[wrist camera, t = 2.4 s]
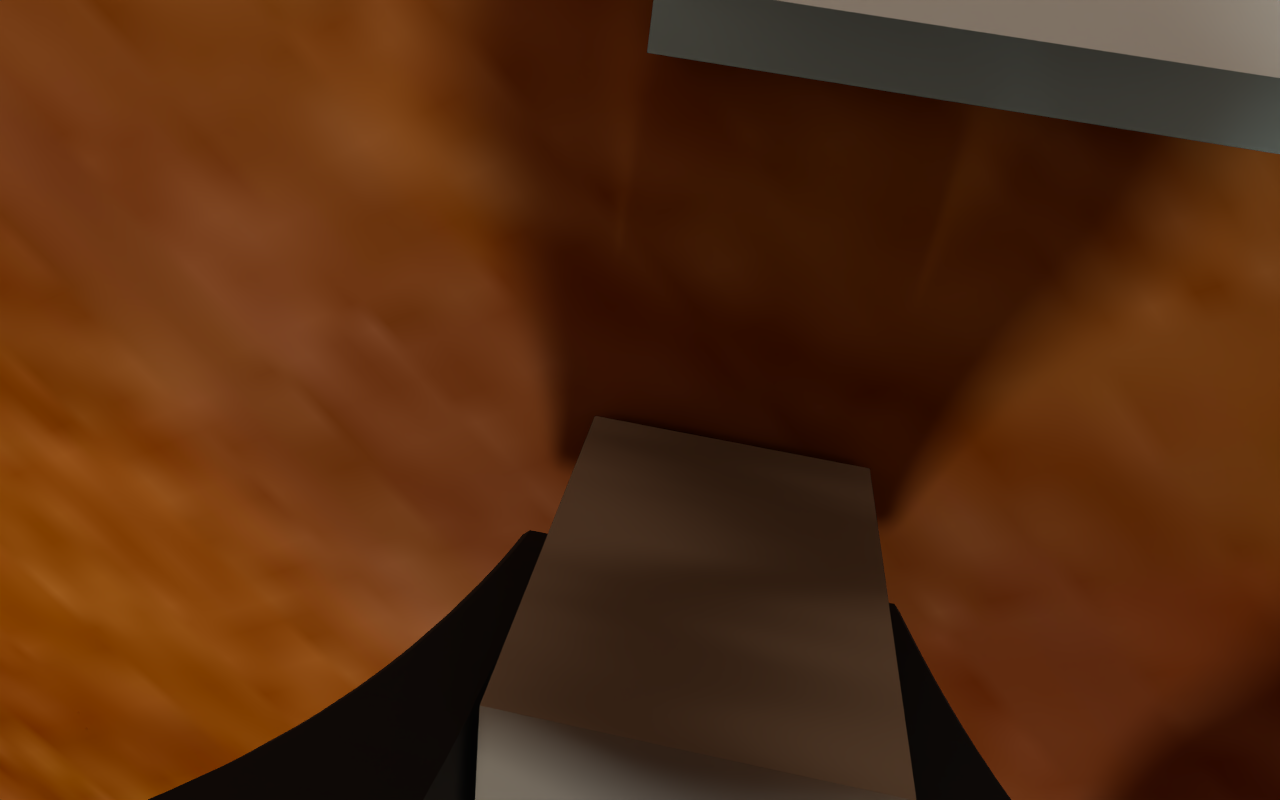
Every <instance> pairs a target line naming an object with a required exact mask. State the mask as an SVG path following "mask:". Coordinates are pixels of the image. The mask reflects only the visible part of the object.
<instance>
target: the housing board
mask: <svg viewBox="0 0 1280 800" xmlns="http://www.w3.org/2000/svg"><path fill="white" fill-rule="evenodd" d="M647 53H652V54H659V55H665V56H671V57H677V58H684V59H690V60H696V61H702V62H709V63H715V64H721V65H727V66H733V67H740V68H746V69H752V70H758V71H765V72H771V73H777V74H783V75H790V76H796V77H802V78H808V79H815V80H821V81H827V82H833V83H839V84H846V85H852V86H858V87H864V88H871V89H877V90H883V91H889V92H896V93H902V94H908V95H914V96H921V97H927V98H933V99H939V100H945V101H952V102H958V103H964V104H970V105H977V106H983V107H989V108H995V109H1002V110H1008V111H1014V112H1020V113H1027V114H1033V115H1039V116H1045V117H1051V118H1058V119H1064V120H1070V121H1076V122H1083V123H1089V124H1095V125H1101V126H1108V127H1114V128H1120V129H1126V130H1133V131H1139V132H1145V133H1151V134H1157V135H1164V136H1170V137H1176V138H1182V139H1189V140H1195V141H1201V142H1207V143H1214V144H1220V145H1226V146H1232V147H1239V148H1245V149H1251V150H1257V151H1263V152H1270V153H1276V154H1280V78H1275V77H1269V76H1263V75H1256V74H1250V73H1243V72H1237V71H1230V70H1224V69H1217V68H1211V67H1204V66H1198V65H1191V64H1185V63H1178V62H1172V61H1165V60H1159V59H1152V58H1146V57H1140V56H1133V55H1127V54H1120V53H1114V52H1107V51H1101V50H1094V49H1088V48H1081V47H1075V46H1068V45H1062V44H1055V43H1049V42H1042V41H1036V40H1030V39H1023V38H1017V37H1010V36H1004V35H997V34H991V33H984V32H978V31H971V30H965V29H958V28H952V27H945V26H939V25H932V24H926V23H919V22H913V21H907V20H900V19H894V18H887V17H881V16H874V15H868V14H861V13H855V12H848V11H842V10H835V9H829V8H822V7H816V6H809V5H803V4H797V3H790V2H784V1H777V0H654V1H653V9H652V17H651V25H650V33H649V41H648V49H647Z"/></svg>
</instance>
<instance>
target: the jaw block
mask: <svg viewBox="0 0 1280 800" xmlns="http://www.w3.org/2000/svg"><path fill="white" fill-rule="evenodd" d="M475 800H916V793H915V786H914V779H913V772H912V765H911V758H910V751H909V744H908V737H907V729H906V722H905V715H904V708H903V701H902V694H901V687H900V680H899V673H898V666H897V659H896V651H895V644H894V637H893V630H892V623H891V616H890V609H889V602H888V595H887V588H886V581H885V573H884V566H883V559H882V552H881V545H880V538H879V531H878V524H877V517H876V510H875V503H874V495H873V488H872V481H871V474H870V468H865V467H859V466H854V465H849V464H844V463H839V462H833V461H828V460H823V459H818V458H813V457H807V456H802V455H797V454H792V453H786V452H781V451H776V450H771V449H766V448H760V447H755V446H750V445H745V444H740V443H734V442H729V441H724V440H719V439H714V438H708V437H703V436H698V435H693V434H687V433H682V432H677V431H672V430H667V429H661V428H656V427H651V426H646V425H641V424H635V423H630V422H625V421H620V420H614V419H609V418H604V417H599V416H595V417H594V419H593V422H592V425H591V427H590V430H589V432H588V435H587V437H586V440H585V442H584V445H583V447H582V450H581V452H580V455H579V457H578V460H577V462H576V465H575V467H574V470H573V472H572V475H571V477H570V480H569V482H568V485H567V487H566V490H565V492H564V495H563V497H562V500H561V502H560V505H559V507H558V510H557V512H556V515H555V517H554V520H553V522H552V525H551V528H550V530H549V533H548V535H547V538H546V540H545V543H544V545H543V548H542V550H541V553H540V555H539V558H538V560H537V563H536V565H535V568H534V570H533V573H532V575H531V578H530V580H529V583H528V585H527V588H526V590H525V593H524V595H523V598H522V600H521V603H520V605H519V608H518V610H517V613H516V615H515V618H514V620H513V623H512V625H511V628H510V631H509V633H508V636H507V638H506V641H505V643H504V646H503V648H502V651H501V653H500V656H499V658H498V661H497V663H496V666H495V668H494V671H493V673H492V676H491V678H490V681H489V683H488V686H487V688H486V691H485V693H484V696H483V698H482V701H481V703H480V709H479V729H478V750H477V771H476V791H475Z"/></svg>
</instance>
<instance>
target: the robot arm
mask: <svg viewBox="0 0 1280 800" xmlns="http://www.w3.org/2000/svg"><path fill="white" fill-rule="evenodd" d="M547 535H548V534H546V533H541V532H536V531H531V530H530V531H528V532H526V533H525V534H523V535H522V536H521V538H520V539H519V540H518V541H517V543H516V544H515V545H514V546H513V547H512V549H511V550H510V551H509V552H508V553H507V554H506V555H505V557H504V558H503V559H502V560H501V561H500V562H499V563H498V564H497V566H496V567H495V568H494V569H493V570H492V571H491V572H490V573H489V574H488V575H487V576H486V577H485V578H484V579H483V580H482V581H481V583H480V584H479V585H478V586H476V587H475V588H474V589H473V590H472V591H471V592H470V593H469V594H468V595H467V596H466V597H465V598H464V599H463V600H462V601H461V602H460V603H459V604H458V605H457V606H456V607H455V608H454V609H453V610H452V611H451V612H450V613H449V614H448V615H447V616H446V617H444V618H443V619H442V620H441V621H440V622H439V623H438V624H436V625H435V626H434V627H433V628H432V629H431V630H430V631H428V632H427V633H426V634H425V635H424V636H423V637H421V638H420V639H419V640H418V641H417V642H416V643H415V644H413V645H412V646H411V647H410V648H409V649H407V650H406V651H405V652H404V653H402V654H401V655H400V656H399V657H397V658H396V659H395V660H394V661H392V662H391V663H390V664H388V665H387V666H386V667H385V668H383V669H382V670H381V671H379V672H378V673H376V674H375V675H374V676H372V677H371V678H370V679H368V680H367V681H365V682H364V683H363V684H361V685H360V686H358V687H357V688H356V689H354V690H353V691H351V692H350V693H348V694H347V695H345V696H344V697H342V698H341V699H339V700H337V701H336V702H334V703H333V704H331V705H330V706H328V707H327V708H325V709H324V710H322V711H321V712H319V713H318V714H316V715H314V716H313V717H311V718H310V719H308V720H306V721H305V722H303V723H301V724H300V725H298V726H296V727H294V728H293V729H291V730H289V731H287V732H285V733H284V734H282V735H280V736H278V737H276V738H274V739H273V740H271V741H269V742H267V743H265V744H264V745H262V746H260V747H258V748H256V749H254V750H253V751H251V752H249V753H247V754H245V755H244V756H242V757H240V758H238V759H236V760H234V761H232V762H230V763H228V764H226V765H224V766H222V767H220V768H217V769H215V770H213V771H211V772H209V773H207V774H204V775H202V776H200V777H198V778H196V779H193V780H191V781H189V782H187V783H185V784H182V785H180V786H178V787H176V788H174V789H172V790H169V791H167V792H165V793H162V794H160V795H158V796H155V797H153V798H150V799H148V800H475V791H476V771H477V750H478V729H479V709H480V703H481V701H482V698H483V696H484V693H485V691H486V688H487V686H488V683H489V681H490V678H491V676H492V673H493V671H494V668H495V666H496V663H497V661H498V658H499V656H500V653H501V651H502V648H503V646H504V643H505V641H506V638H507V636H508V633H509V631H510V628H511V625H512V623H513V620H514V618H515V615H516V613H517V610H518V608H519V605H520V603H521V600H522V598H523V595H524V593H525V590H526V588H527V585H528V583H529V580H530V578H531V575H532V573H533V570H534V568H535V565H536V563H537V560H538V558H539V555H540V553H541V550H542V548H543V545H544V543H545V540H546V538H547ZM889 609H890V616H891V623H892V630H893V637H894V644H895V651H896V659H897V666H898V673H899V680H900V687H901V694H902V701H903V708H904V715H905V722H906V729H907V737H908V744H909V751H910V758H911V765H912V772H913V779H914V786H915V793H916V800H1011V799H1010V797H1009V796H1008V795H1007V793H1006V792H1005V790H1004V789H1003V788H1002V786H1001V785H1000V783H999V782H998V780H997V779H996V778H995V776H994V775H993V773H992V772H991V770H990V769H989V767H988V766H987V764H986V763H985V761H984V760H983V758H982V757H981V755H980V754H979V752H978V751H977V749H976V748H975V746H974V744H973V743H972V741H971V740H970V738H969V736H968V735H967V733H966V732H965V730H964V728H963V727H962V725H961V723H960V722H959V720H958V718H957V717H956V715H955V713H954V712H953V710H952V708H951V707H950V705H949V703H948V702H947V700H946V698H945V696H944V695H943V693H942V691H941V690H940V688H939V686H938V684H937V682H936V681H935V679H934V677H933V675H932V673H931V672H930V670H929V668H928V666H927V664H926V662H925V660H924V659H923V657H922V655H921V653H920V651H919V649H918V647H917V645H916V643H915V642H914V640H913V638H912V636H911V634H910V632H909V630H908V628H907V626H906V624H905V622H904V620H903V618H902V616H901V614H900V612H899V610H898V609H897V607H896V606H895V604H892V603H889Z"/></svg>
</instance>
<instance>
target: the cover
mask: <svg viewBox="0 0 1280 800" xmlns="http://www.w3.org/2000/svg"><path fill="white" fill-rule="evenodd" d="M777 1H784V2H790V3H797V4H803V5H809V6H816V7H822V8H829V9H835V10H842V11H848V12H855V13H861V14H868V15H874V16H881V17H887V18H894V19H900V20H907V21H913V22H919V23H926V24H932V25H939V26H945V27H952V28H958V29H965V30H971V31H978V32H984V33H991V34H997V35H1004V36H1010V37H1017V38H1023V39H1030V40H1036V41H1042V42H1049V43H1055V44H1062V45H1068V46H1075V47H1081V48H1088V49H1094V50H1101V51H1107V52H1114V53H1120V54H1127V55H1133V56H1140V57H1146V58H1152V59H1159V60H1165V61H1172V62H1178V63H1185V64H1191V65H1198V66H1204V67H1211V68H1217V69H1224V70H1230V71H1237V72H1243V73H1250V74H1256V75H1263V76H1269V77H1275V78H1280V0H777Z"/></svg>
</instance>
